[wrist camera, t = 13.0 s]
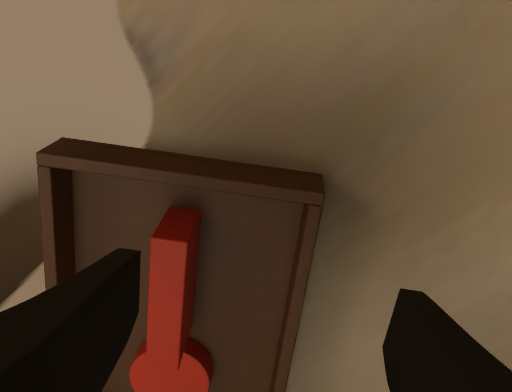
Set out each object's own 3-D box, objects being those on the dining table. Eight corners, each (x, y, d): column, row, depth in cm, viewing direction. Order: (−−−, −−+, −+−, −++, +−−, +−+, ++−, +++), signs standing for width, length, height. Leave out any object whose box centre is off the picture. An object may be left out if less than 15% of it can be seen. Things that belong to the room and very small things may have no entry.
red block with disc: (140, 201, 22) (116, 232, 19) (230, 214, 22) (221, 247, 19) (135, 388, 26) (115, 436, 23) (209, 399, 26) (199, 448, 23)
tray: (270, 435, 28) (268, 472, 25) (74, 405, 28) (55, 440, 26) (321, 173, 21) (325, 193, 19) (62, 136, 21) (35, 152, 19)
